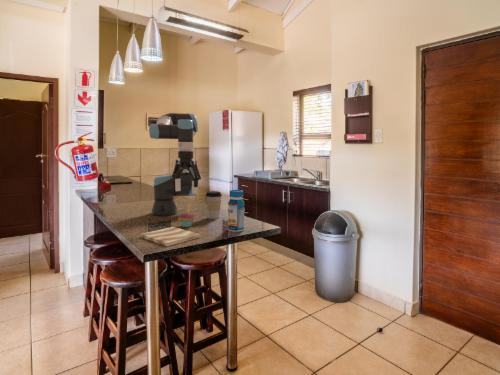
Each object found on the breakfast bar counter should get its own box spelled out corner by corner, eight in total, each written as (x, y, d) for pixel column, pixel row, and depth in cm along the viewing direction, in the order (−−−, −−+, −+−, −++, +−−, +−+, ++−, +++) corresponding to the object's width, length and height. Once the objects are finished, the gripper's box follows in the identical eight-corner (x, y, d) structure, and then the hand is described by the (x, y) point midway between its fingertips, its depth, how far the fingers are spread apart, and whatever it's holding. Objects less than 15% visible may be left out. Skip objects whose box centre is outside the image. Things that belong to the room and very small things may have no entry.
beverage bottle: (245, 231, 159) (246, 191, 157) (228, 232, 158) (228, 191, 155) (243, 227, 167) (243, 189, 165) (226, 228, 166) (227, 189, 163)
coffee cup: (219, 219, 183) (219, 193, 181) (203, 219, 185) (203, 193, 183) (223, 216, 193) (223, 191, 191) (208, 215, 194) (208, 190, 192)
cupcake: (186, 223, 175) (186, 201, 173) (198, 225, 170) (198, 203, 169) (174, 226, 168) (174, 203, 166) (186, 229, 163) (186, 205, 162)
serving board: (140, 237, 148) (140, 233, 148) (173, 229, 162) (173, 226, 161) (166, 246, 135) (166, 242, 135) (200, 237, 149) (200, 234, 148)
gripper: (164, 150, 169) (165, 190, 172) (196, 151, 153) (196, 195, 155) (176, 150, 175) (177, 189, 177) (207, 151, 159) (208, 194, 161)
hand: (186, 192), depth 166 cm, fingers open, 13 cm apart
